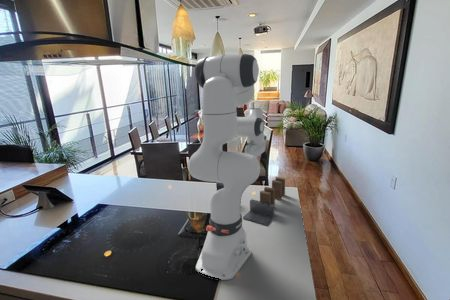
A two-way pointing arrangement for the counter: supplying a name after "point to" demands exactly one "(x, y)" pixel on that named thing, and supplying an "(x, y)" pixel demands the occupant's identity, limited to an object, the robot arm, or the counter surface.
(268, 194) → the tile
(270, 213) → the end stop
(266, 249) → the counter surface
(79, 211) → the counter surface
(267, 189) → the tile
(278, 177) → the end tile
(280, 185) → the tile
